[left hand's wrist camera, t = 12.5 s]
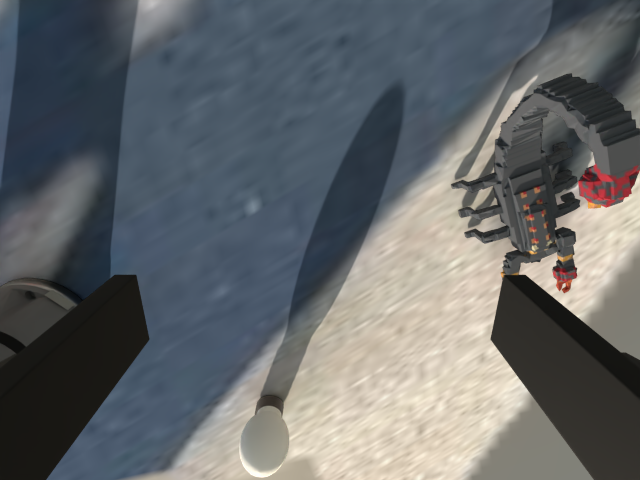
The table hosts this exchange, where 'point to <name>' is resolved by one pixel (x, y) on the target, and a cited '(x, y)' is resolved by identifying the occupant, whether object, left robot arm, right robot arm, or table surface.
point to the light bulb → (265, 438)
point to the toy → (534, 176)
